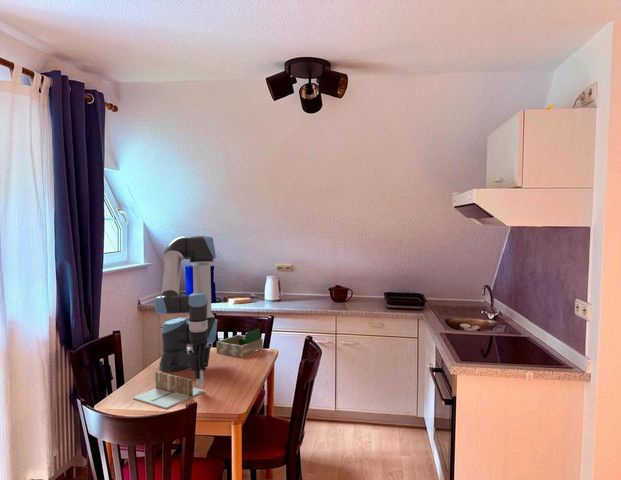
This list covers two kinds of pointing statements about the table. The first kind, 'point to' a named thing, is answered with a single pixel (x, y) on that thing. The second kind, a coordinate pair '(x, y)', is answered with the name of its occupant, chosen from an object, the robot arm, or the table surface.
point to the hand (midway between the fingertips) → (200, 385)
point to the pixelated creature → (250, 337)
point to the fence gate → (183, 386)
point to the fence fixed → (165, 381)
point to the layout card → (164, 397)
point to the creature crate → (238, 346)
